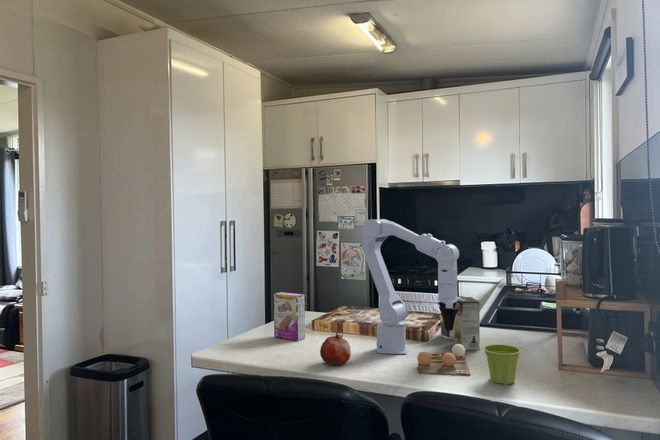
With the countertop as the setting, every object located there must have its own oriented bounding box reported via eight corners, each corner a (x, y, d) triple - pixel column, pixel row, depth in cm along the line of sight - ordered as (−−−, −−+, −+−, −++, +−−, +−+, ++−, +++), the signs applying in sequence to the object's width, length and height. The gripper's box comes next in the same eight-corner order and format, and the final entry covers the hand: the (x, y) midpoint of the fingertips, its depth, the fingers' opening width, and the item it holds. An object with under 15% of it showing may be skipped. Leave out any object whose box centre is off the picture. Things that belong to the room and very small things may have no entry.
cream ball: (452, 358, 149) (452, 345, 149) (451, 354, 153) (451, 342, 153) (465, 359, 148) (465, 346, 148) (464, 355, 152) (464, 342, 152)
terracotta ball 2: (442, 368, 140) (441, 355, 140) (441, 364, 144) (441, 350, 144) (456, 368, 139) (456, 355, 139) (455, 364, 143) (455, 350, 143)
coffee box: (453, 343, 170) (453, 297, 170) (471, 342, 170) (471, 296, 170) (461, 350, 161) (461, 301, 160) (481, 349, 161) (480, 301, 161)
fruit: (315, 361, 151) (315, 329, 150) (343, 357, 154) (343, 326, 154) (327, 370, 142) (326, 336, 142) (356, 365, 146) (355, 332, 146)
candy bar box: (273, 337, 181) (272, 293, 180) (281, 335, 185) (281, 291, 185) (297, 341, 175) (297, 296, 174) (305, 338, 179) (305, 294, 179)
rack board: (418, 373, 138) (418, 369, 138) (418, 353, 158) (418, 349, 158) (470, 375, 135) (470, 371, 135) (463, 355, 155) (463, 351, 155)
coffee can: (436, 337, 178) (435, 298, 178) (447, 331, 186) (446, 294, 186) (463, 341, 172) (462, 301, 172) (473, 335, 180) (473, 297, 180)
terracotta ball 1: (417, 367, 141) (417, 353, 141) (417, 363, 145) (417, 349, 145) (431, 367, 140) (431, 354, 140) (431, 363, 144) (430, 350, 144)
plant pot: (501, 389, 125) (501, 355, 125) (476, 378, 133) (476, 346, 133) (528, 383, 129) (528, 351, 128) (503, 373, 137) (502, 342, 137)
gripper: (463, 287, 143) (463, 333, 143) (459, 280, 157) (459, 322, 157) (438, 286, 144) (439, 332, 144) (436, 280, 158) (437, 321, 159)
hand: (448, 327), depth 151 cm, fingers open, 7 cm apart
